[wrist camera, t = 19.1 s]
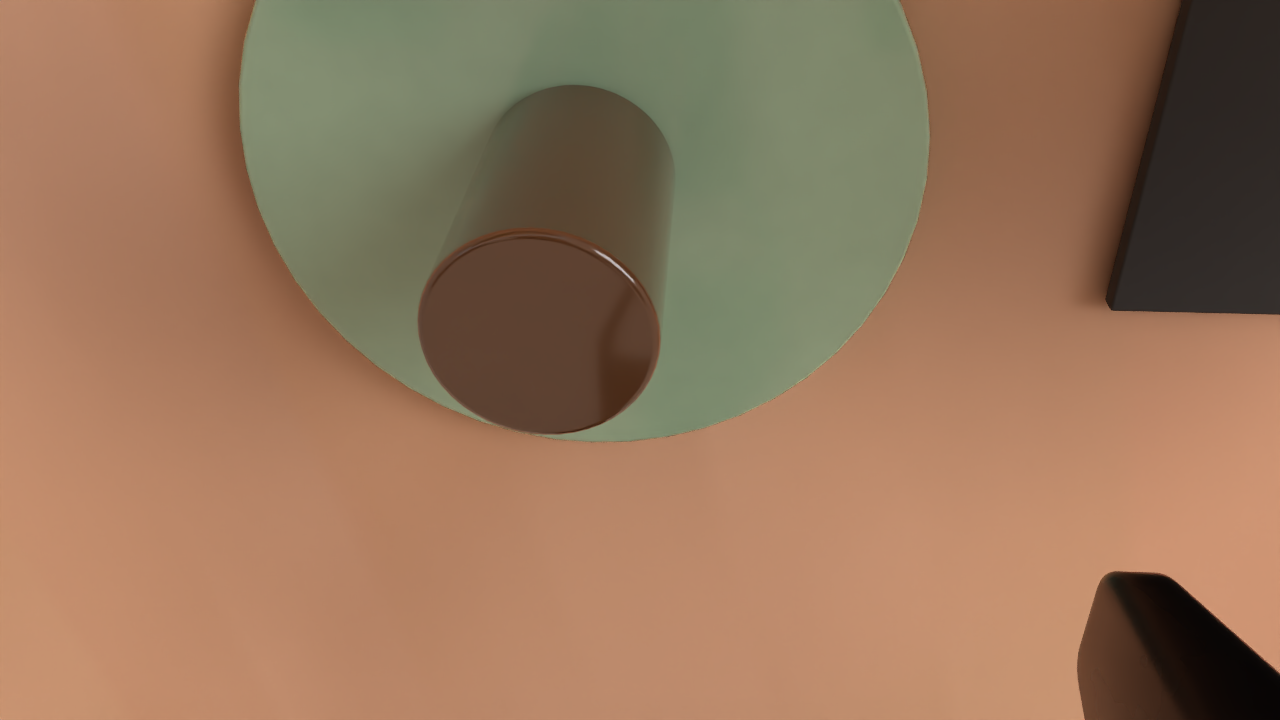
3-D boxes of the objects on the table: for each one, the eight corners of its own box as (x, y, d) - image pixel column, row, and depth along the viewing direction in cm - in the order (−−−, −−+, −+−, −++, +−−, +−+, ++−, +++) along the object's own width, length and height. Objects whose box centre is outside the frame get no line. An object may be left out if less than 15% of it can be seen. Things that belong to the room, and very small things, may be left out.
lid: (883, 427, 17) (926, 659, 13) (316, 411, 17) (206, 629, 14) (973, -217, 12) (1080, -135, 8) (182, -214, 12) (-42, -133, 9)
